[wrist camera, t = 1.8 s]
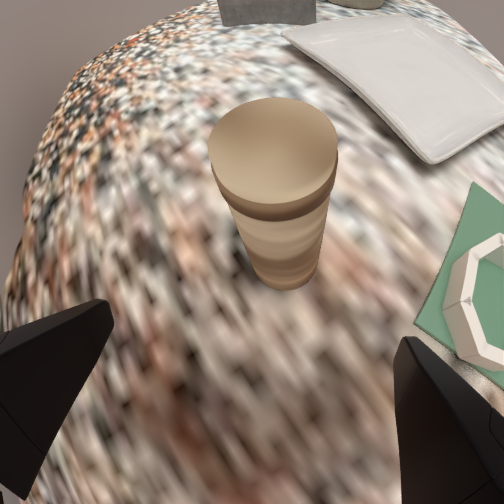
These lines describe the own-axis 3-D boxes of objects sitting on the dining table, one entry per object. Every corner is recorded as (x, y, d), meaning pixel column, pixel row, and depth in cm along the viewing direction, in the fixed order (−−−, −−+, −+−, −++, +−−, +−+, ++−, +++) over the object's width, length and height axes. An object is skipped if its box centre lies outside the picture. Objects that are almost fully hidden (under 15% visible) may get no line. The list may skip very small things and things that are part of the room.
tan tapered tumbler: (302, 303, 21) (311, 213, 9) (239, 274, 23) (180, 168, 11) (328, 242, 23) (355, 115, 11) (269, 219, 24) (244, 87, 12)
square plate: (278, 51, 34) (276, 29, 31) (406, 28, 36) (408, 12, 32) (420, 186, 24) (434, 161, 20) (522, 125, 25) (533, 109, 22)
